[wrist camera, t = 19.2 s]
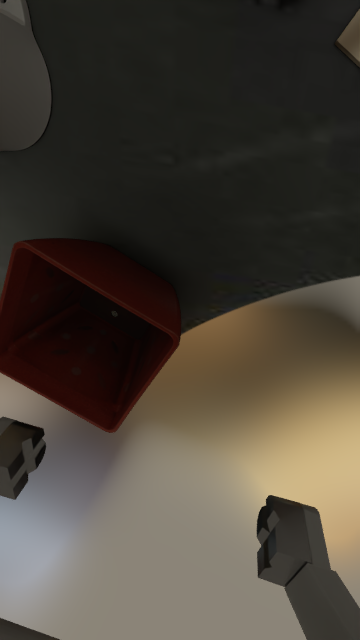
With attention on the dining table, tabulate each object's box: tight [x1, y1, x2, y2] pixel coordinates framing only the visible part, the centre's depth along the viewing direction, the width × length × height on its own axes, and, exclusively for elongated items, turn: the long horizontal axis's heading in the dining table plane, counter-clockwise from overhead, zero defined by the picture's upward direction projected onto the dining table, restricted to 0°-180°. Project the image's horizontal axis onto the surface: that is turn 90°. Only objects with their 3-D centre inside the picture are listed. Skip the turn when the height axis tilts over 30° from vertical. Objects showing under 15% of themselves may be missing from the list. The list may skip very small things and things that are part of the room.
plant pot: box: [0, 238, 181, 433], centre depth 41 cm, size 19×19×17 cm
